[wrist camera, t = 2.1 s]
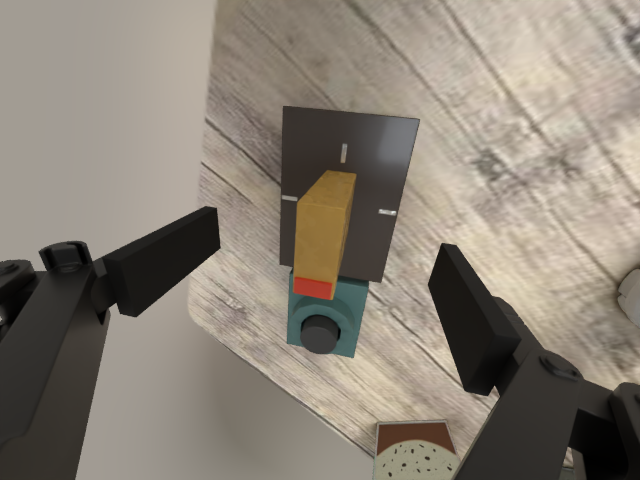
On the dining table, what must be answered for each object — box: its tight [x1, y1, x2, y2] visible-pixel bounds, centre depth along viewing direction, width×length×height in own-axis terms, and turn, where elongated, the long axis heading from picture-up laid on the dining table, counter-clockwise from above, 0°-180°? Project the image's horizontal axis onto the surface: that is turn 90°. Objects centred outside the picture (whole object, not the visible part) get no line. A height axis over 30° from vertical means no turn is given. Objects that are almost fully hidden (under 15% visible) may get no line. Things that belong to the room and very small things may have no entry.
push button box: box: [287, 267, 369, 358], centre depth 27 cm, size 10×8×4 cm
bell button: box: [300, 315, 338, 354], centre depth 25 cm, size 4×4×2 cm
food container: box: [373, 420, 461, 480], centre depth 32 cm, size 12×6×10 cm, turn 112°
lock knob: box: [293, 170, 356, 300], centre depth 17 cm, size 6×2×9 cm, turn 175°
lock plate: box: [280, 106, 420, 283], centre depth 22 cm, size 14×10×3 cm
